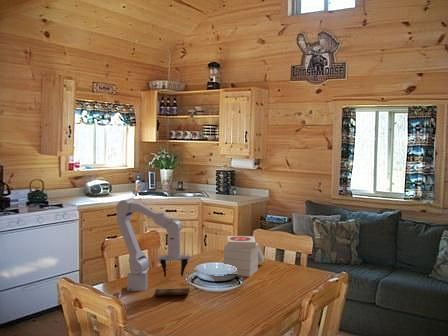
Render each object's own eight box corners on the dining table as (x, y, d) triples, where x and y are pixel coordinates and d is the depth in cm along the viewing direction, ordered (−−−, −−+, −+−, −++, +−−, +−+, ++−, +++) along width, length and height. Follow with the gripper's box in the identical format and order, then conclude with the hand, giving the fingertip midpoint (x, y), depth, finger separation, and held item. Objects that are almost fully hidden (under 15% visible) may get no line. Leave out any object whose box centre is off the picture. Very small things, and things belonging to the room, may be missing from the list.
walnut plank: (155, 292, 209) (155, 289, 210) (154, 296, 217) (154, 293, 217) (189, 291, 212) (189, 288, 212) (187, 295, 219) (187, 292, 220)
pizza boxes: (267, 264, 277) (268, 233, 276) (252, 278, 249) (253, 244, 248) (236, 260, 284) (237, 230, 282) (218, 273, 256) (218, 240, 254)
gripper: (158, 249, 213) (158, 279, 214) (190, 248, 215) (190, 277, 216) (157, 245, 219) (157, 274, 220) (188, 244, 222) (188, 273, 223)
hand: (173, 275), depth 219 cm, fingers open, 7 cm apart
